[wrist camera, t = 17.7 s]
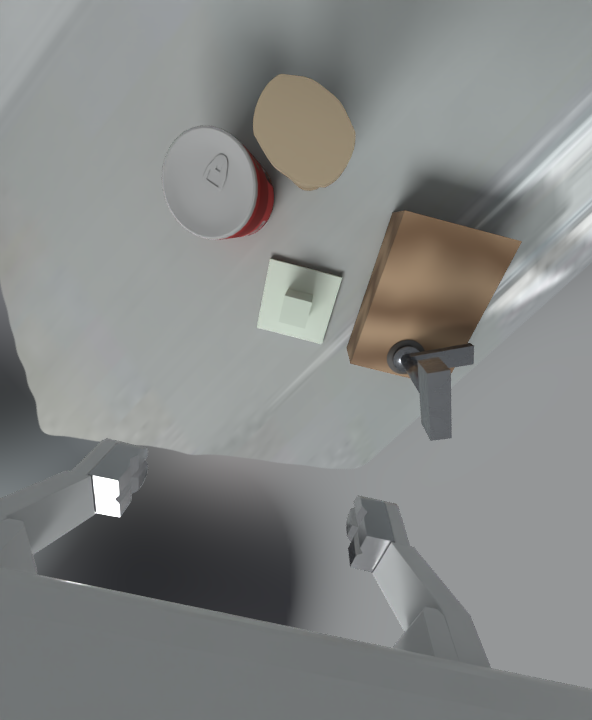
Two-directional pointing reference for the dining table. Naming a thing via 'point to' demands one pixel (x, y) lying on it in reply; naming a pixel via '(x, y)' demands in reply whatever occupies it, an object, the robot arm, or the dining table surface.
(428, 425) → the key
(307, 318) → the lid
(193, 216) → the canned food
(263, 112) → the handle
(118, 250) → the dining table surface
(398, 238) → the case
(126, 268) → the dining table surface
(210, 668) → the robot arm
